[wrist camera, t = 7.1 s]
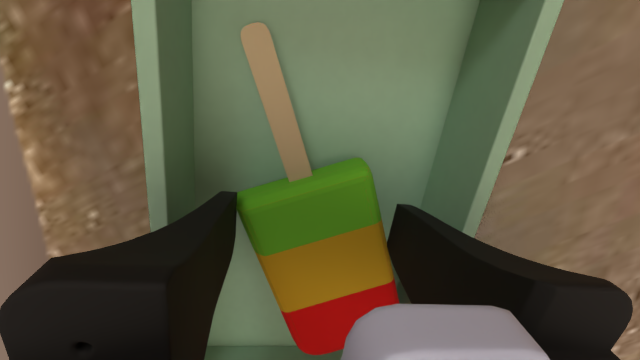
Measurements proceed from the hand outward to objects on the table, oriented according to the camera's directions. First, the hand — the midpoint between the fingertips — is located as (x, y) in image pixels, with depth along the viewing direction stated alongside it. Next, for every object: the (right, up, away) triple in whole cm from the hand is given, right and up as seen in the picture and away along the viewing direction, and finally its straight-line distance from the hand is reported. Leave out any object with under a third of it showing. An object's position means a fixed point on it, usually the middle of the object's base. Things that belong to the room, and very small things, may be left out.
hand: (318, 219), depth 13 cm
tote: (0, +1, +2) cm, 2 cm away
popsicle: (0, +1, +1) cm, 2 cm away
